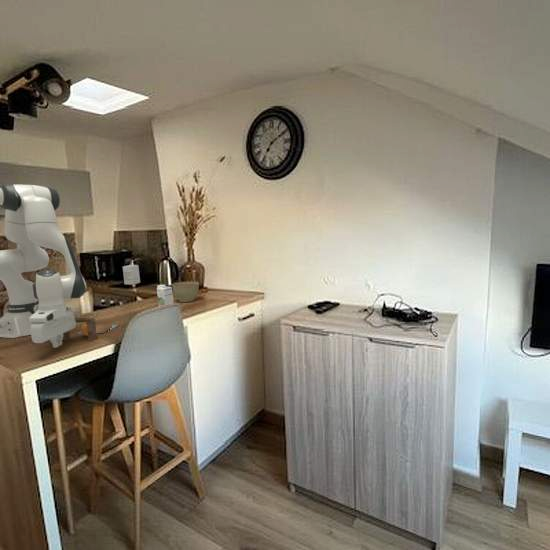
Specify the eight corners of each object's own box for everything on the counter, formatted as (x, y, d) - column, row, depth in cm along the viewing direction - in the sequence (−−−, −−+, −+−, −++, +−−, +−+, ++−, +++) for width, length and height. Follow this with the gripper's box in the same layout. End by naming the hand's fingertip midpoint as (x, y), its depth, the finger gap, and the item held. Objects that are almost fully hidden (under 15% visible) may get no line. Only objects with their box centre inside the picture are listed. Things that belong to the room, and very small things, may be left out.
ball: (76, 334, 156) (79, 321, 158) (83, 337, 161) (86, 324, 163) (89, 334, 156) (92, 322, 158) (95, 337, 161) (98, 325, 163)
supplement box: (131, 282, 304) (129, 264, 302) (140, 282, 301) (138, 264, 299) (124, 284, 296) (122, 266, 293) (133, 284, 293) (131, 266, 290)
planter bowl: (197, 303, 216) (195, 285, 214) (170, 304, 216) (168, 286, 214) (202, 297, 232) (201, 280, 230) (177, 298, 232) (175, 281, 230)
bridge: (93, 340, 153) (90, 319, 152) (61, 340, 155) (58, 319, 153) (97, 338, 156) (94, 317, 155) (66, 338, 158) (63, 317, 156)
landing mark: (76, 333, 163) (76, 333, 163) (93, 325, 176) (93, 325, 176) (103, 333, 162) (103, 333, 162) (118, 325, 175) (118, 324, 175)
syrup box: (174, 313, 194) (172, 286, 192) (165, 315, 189) (163, 288, 187) (167, 312, 197) (165, 285, 195) (158, 314, 192) (156, 287, 190)
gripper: (63, 305, 151) (67, 337, 153) (25, 319, 131) (30, 355, 133) (77, 305, 150) (81, 337, 152) (41, 319, 130) (46, 355, 132)
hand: (57, 346), depth 142 cm, fingers closed
